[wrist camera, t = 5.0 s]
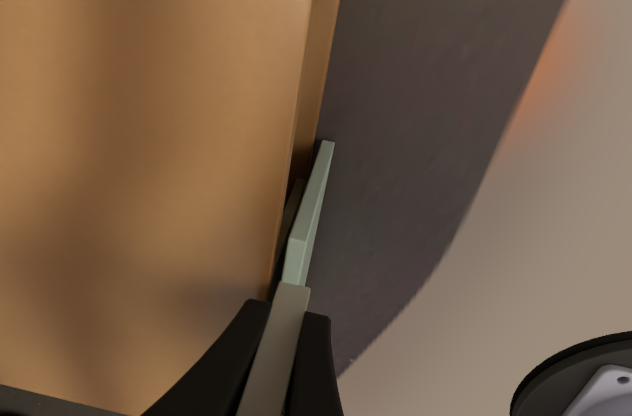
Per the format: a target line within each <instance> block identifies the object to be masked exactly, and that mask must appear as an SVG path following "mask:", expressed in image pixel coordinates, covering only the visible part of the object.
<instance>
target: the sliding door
mask: <svg viewBox="0 0 632 416" xmlns="http://www.w3.org/2000/svg"><path fill="white" fill-rule="evenodd" d="M334 145H335V143H334V142H331V141H326V140H322V142H321V145H320V148H319V151H318V154H317V157H316V160H315V163H314V166H313V168H312V171H311V174H310V177H309V180H308V183H307V186H306V189H305V192H304V195H303V198H302V200H301V203H300V206H299V209H298V212H297V215H296V218H295V221H294V224H293V227H292V230H291V232H290V235H289V238H288V244H287V250H286V256H285V262H284V267H283V273H282V279H281V281H280V282H279V284H278V287H277V290H276V293H275V296H274V299H273V302H272V307H271V310H270V313H269V316H268V319H267V322H266V325H265V328H264V331H263V334H262V336H261V339H260V342H259V345H258V348H257V351H256V354H255V357H254V360H253V363H252V366H251V369H250V372H249V375H248V378H247V381H246V384H245V387H244V391H243V394H242V397H241V400H240V403H239V406H238V409H237V412H236V415H235V416H282V415H283V411H284V406H285V402H286V397H287V393H288V388H289V384H290V379H291V375H292V370H293V366H294V361H295V357H296V352H297V346H298V340H299V335H300V331H301V327H302V322H303V318H304V314H305V311H306V309H307V305H308V300H309V296H310V291H311V289H310V288H309V287H305V283H306V278H307V273H308V269H309V264H310V259H311V254H312V250H313V245H314V240H315V235H316V231H317V226H318V221H319V216H320V212H321V207H322V202H323V197H324V192H325V188H326V183H327V178H328V173H329V169H330V164H331V159H332V154H333V150H334Z"/></svg>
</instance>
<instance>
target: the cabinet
mask: <svg viewBox="0 0 632 416" xmlns="http://www.w3.org/2000/svg"><path fill="white" fill-rule="evenodd" d="M339 5H340V0H0V384H2V385H7V386H11V387H15V388H19V389H23V390H27V391H31V392H35V393H39V394H43V395H48V396H52V397H56V398H60V399H64V400H68V401H72V402H76V403H80V404H84V405H89V406H93V407H97V408H101V409H105V410H109V411H113V412H117V413H121V414H125V415H130V416H140V415H141V414H142V413H144V412H145V411H146V410H147V409H148V408H149V407H150V406H151V405H153V404H154V403H155V402H156V401H157V400H158V399H159V398H160V397H162V396H163V395H164V394H165V393H166V392H167V391H168V390H169V389H170V388H171V387H172V386H173V385H174V384H175V383H176V382H177V381H178V380H179V379H180V378H181V377H182V376H183V375H184V374H185V373H186V372H187V371H188V370H189V369H190V368H191V367H192V366H193V365H194V364H195V363H196V362H197V361H198V360H199V359H200V358H201V357H202V356H203V354H204V353H205V352H206V351H207V350H208V349H209V348H210V346H211V345H212V344H213V343H214V342H215V341H216V340H217V338H218V337H219V336H220V335H221V334H222V332H223V331H224V330H225V329H226V327H227V326H228V325H229V324H230V322H231V321H232V320H233V318H234V317H235V316H236V314H237V313H238V312H239V310H240V309H241V307H242V306H243V304H244V302H245V301H246V300H248V299H250V298H251V299H256V300H260V301H264V302H268V303H272V302H273V299H274V296H275V293H276V290H277V287H278V284H279V282H280V281H281V279H282V273H283V267H284V262H285V256H286V250H287V244H288V238H289V235H290V232H291V230H292V227H293V224H294V221H295V218H296V215H297V212H298V209H299V206H300V203H301V200H302V198H303V195H304V192H305V189H306V185H307V180H308V174H309V169H310V163H311V158H312V152H313V147H314V141H315V136H316V131H317V125H318V120H319V114H320V109H321V103H322V98H323V92H324V87H325V81H326V76H327V70H328V65H329V59H330V54H331V48H332V43H333V37H334V32H335V26H336V21H337V16H338V10H339Z"/></svg>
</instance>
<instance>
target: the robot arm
mask: <svg viewBox="0 0 632 416" xmlns="http://www.w3.org/2000/svg"><path fill="white" fill-rule="evenodd" d="M271 307H272V303H268V302H264V301H260V300H256V299H251V298H250V299H248V300H246V301H245V302H244V304H243V306H242V307H241V309H240V310H239V312H238V313H237V314H236V316H235V317H234V318H233V320H232V321H231V322H230V324H229V325H228V326H227V327H226V329H225V330H224V331H223V332H222V334H221V335H220V336H219V337H218V338H217V340H216V341H215V342H214V343H213V344H212V345H211V346H210V348H209V349H208V350H207V351H206V352H205V353H204V354H203V356H202V357H201V358H200V359H199V360H198V361H197V362H196V363H195V364H194V365H193V366H192V367H191V368H190V369H189V370H188V371H187V372H186V373H185V374H184V375H183V376H182V377H181V378H180V379H179V380H178V381H177V382H176V383H175V384H174V385H173V386H172V387H171V388H170V389H169V390H168V391H167V392H166V393H165V394H164V395H163V396H162V397H160V398H159V399H158V400H157V401H156V402H155V403H154V404H153V405H151V406H150V407H149V408H148V409H147V410H146V411H145V412H144V413H142V414H141V415H140V416H235V415H236V412H237V409H238V406H239V403H240V400H241V397H242V394H243V391H244V387H245V384H246V381H247V378H248V375H249V372H250V369H251V366H252V363H253V360H254V357H255V354H256V351H257V348H258V345H259V342H260V339H261V336H262V334H263V331H264V328H265V325H266V322H267V319H268V316H269V313H270V310H271ZM283 416H344V415H343V410H342V406H341V402H340V397H339V392H338V387H337V381H336V376H335V370H334V364H333V356H332V347H331V320H330V319H329V317H328V316H324V315H320V314H316V313H311V312H307V311H305V314H304V318H303V322H302V327H301V331H300V335H299V340H298V346H297V352H296V357H295V361H294V366H293V370H292V375H291V379H290V384H289V388H288V393H287V397H286V402H285V406H284V413H283ZM561 416H632V369H631V368H627V367H622V366H618V365H613V364H607V365H604V366H601V367H600V368H599V369H598V370H597V371H596V373H595V374H594V375H593V377H592V378H591V379H590V380H589V382H588V383H587V384H586V385H585V387H584V388H583V389H582V390H581V392H580V393H579V394H578V395H577V397H576V398H575V399H574V400H573V402H572V403H571V404H570V405H569V407H568V408H567V409H566V410H565V412H564V413H563V414H562V415H561Z"/></svg>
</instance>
